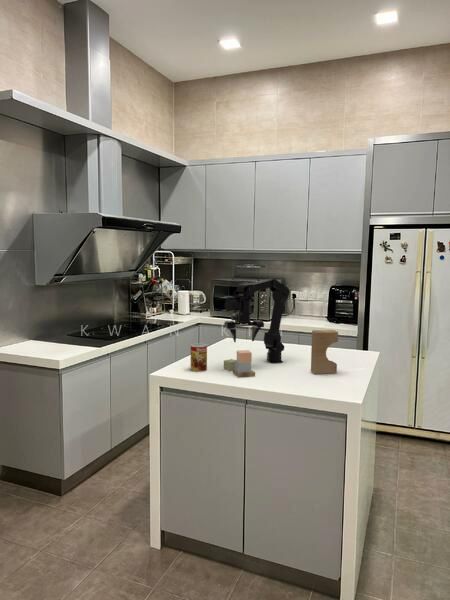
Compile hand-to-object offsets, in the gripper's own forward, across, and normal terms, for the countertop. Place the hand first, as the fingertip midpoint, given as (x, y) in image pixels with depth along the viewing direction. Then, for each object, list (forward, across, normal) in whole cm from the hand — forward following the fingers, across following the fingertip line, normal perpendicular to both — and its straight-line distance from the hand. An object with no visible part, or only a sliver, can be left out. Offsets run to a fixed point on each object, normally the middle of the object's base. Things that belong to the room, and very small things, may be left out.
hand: (243, 341), depth 216 cm
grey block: (+11, +4, +12) cm, 17 cm away
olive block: (+13, +7, +2) cm, 15 cm away
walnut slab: (+14, +4, +12) cm, 19 cm away
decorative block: (+13, -34, +18) cm, 41 cm away
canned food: (+13, +22, -2) cm, 26 cm away
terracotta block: (+7, +4, +12) cm, 14 cm away
